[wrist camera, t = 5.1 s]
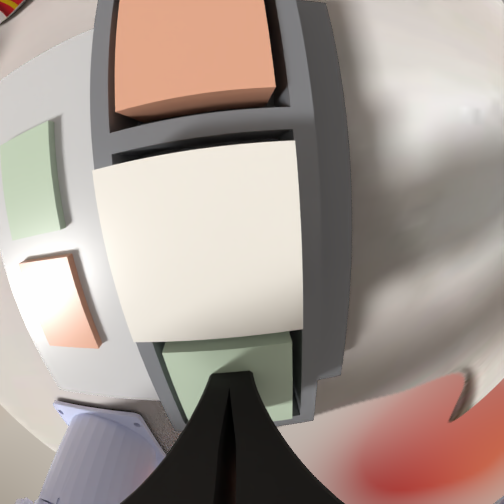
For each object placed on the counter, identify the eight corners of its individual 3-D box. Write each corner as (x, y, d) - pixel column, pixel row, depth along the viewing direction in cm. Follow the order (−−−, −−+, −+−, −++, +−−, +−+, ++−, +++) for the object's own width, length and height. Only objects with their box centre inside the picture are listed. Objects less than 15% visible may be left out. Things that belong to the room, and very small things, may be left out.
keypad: (332, 357, 14) (356, 410, 10) (70, 368, 13) (44, 410, 9) (316, 18, 8) (346, -28, 5) (10, 92, 8) (-38, 84, 4)
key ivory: (285, 284, 8) (303, 329, 6) (156, 297, 8) (133, 342, 6) (276, 147, 7) (295, 140, 5) (132, 166, 7) (92, 170, 5)
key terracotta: (265, 106, 8) (275, 87, 6) (144, 123, 8) (115, 111, 6) (253, 10, 7) (259, -26, 4) (142, 27, 7) (120, -3, 4)
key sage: (283, 379, 11) (292, 418, 9) (195, 386, 11) (190, 426, 9) (280, 304, 10) (292, 342, 8) (175, 314, 10) (161, 353, 8)
